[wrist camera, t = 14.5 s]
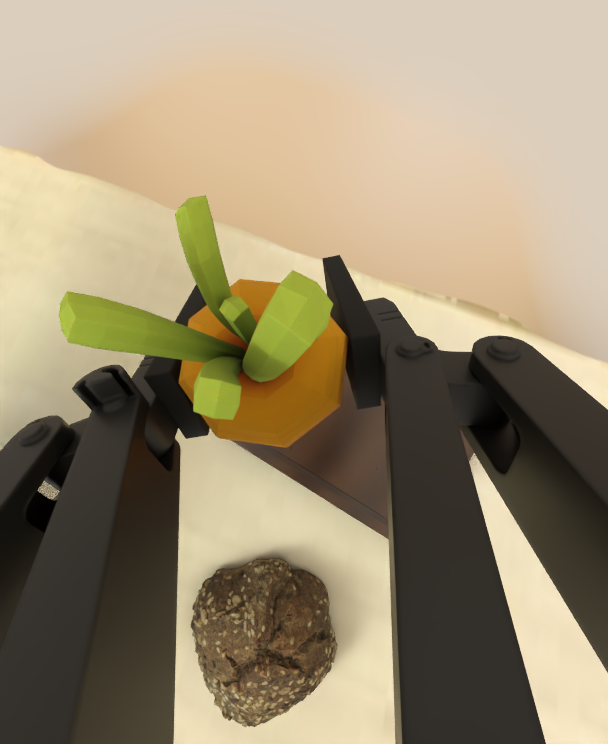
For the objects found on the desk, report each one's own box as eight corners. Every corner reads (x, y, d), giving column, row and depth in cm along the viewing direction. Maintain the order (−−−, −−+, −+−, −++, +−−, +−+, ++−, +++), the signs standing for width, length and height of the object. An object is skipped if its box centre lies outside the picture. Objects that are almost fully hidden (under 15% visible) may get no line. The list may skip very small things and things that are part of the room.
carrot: (245, 397, 18) (-87, 388, 4) (284, 330, 19) (122, 60, 4) (313, 437, 18) (250, 622, 3) (351, 368, 18) (472, 222, 3)
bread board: (216, 426, 29) (210, 428, 28) (286, 309, 30) (284, 304, 28) (412, 548, 27) (417, 558, 25) (483, 418, 28) (493, 419, 26)
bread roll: (226, 715, 27) (204, 786, 22) (186, 579, 28) (156, 618, 23) (356, 670, 26) (364, 733, 21) (309, 535, 28) (305, 565, 23)
